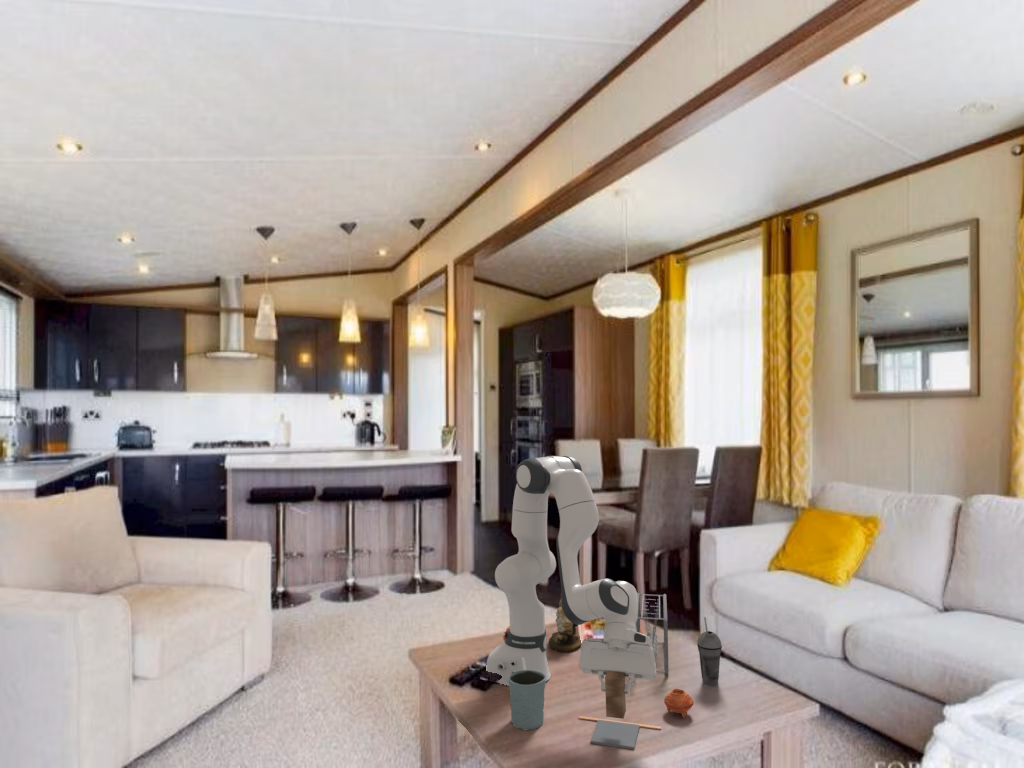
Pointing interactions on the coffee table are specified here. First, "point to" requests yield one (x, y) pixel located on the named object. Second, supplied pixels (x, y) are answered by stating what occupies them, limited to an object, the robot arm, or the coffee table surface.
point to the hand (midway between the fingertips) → (615, 691)
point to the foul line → (620, 722)
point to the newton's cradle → (652, 633)
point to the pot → (678, 701)
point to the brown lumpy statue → (564, 634)
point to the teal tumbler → (527, 698)
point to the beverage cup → (709, 656)
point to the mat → (615, 734)
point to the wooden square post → (615, 694)
